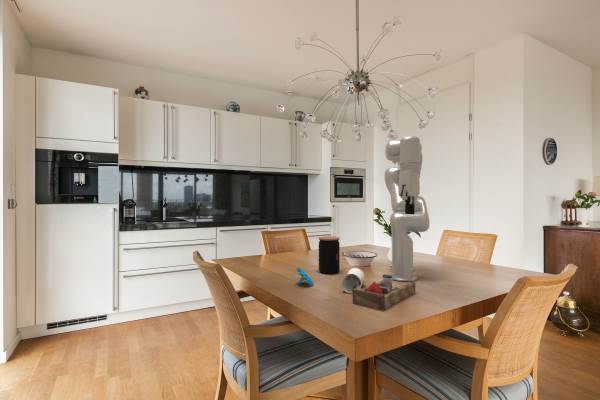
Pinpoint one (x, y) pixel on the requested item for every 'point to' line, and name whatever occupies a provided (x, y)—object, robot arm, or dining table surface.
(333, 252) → the coffee jar
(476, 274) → the dining table surface
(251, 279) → the dining table surface
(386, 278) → the grey angular piece
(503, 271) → the dining table surface
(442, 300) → the dining table surface
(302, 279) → the gear
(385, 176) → the robot arm
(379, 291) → the pomegranate
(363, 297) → the guide
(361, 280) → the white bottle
